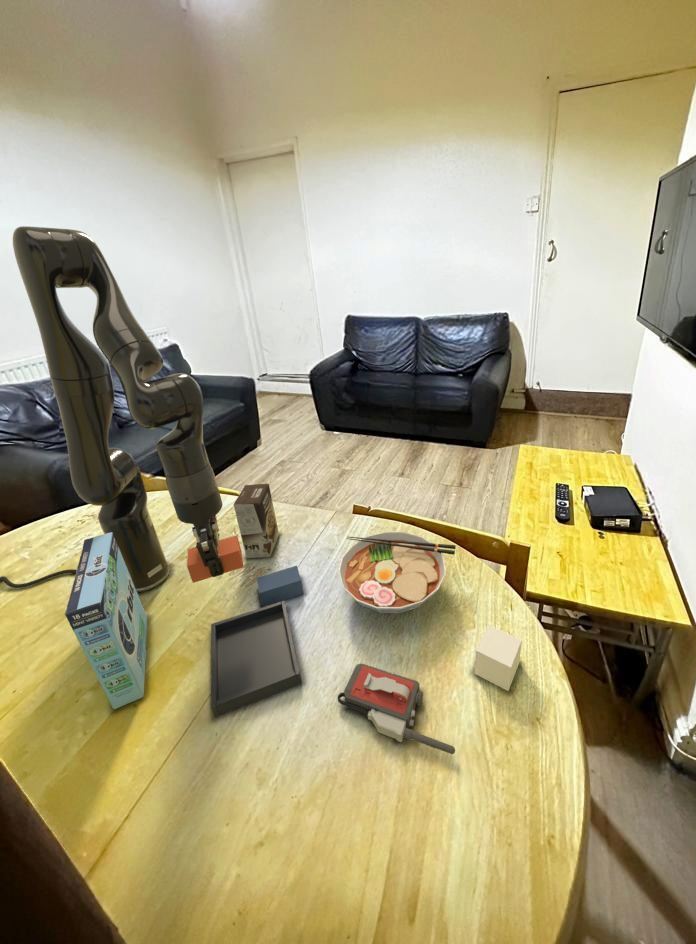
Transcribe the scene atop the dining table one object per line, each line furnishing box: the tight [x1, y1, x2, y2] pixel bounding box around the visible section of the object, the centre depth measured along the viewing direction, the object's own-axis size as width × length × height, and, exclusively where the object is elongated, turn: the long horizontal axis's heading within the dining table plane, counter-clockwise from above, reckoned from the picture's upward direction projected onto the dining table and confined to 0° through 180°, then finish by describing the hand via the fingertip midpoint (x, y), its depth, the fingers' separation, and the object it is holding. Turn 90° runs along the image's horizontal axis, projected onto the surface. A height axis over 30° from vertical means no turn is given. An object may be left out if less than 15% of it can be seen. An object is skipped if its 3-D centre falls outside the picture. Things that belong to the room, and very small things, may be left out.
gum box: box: [64, 532, 148, 711], centre depth 74 cm, size 20×5×23 cm, turn 26°
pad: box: [186, 534, 244, 584], centre depth 78 cm, size 9×5×4 cm, turn 112°
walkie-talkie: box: [337, 662, 456, 755], centre depth 66 cm, size 9×4×20 cm
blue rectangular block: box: [256, 565, 305, 608], centre depth 91 cm, size 9×5×4 cm, turn 111°
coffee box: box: [233, 483, 280, 559], centre depth 103 cm, size 9×6×16 cm
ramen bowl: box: [337, 531, 457, 614], centre depth 89 cm, size 25×23×8 cm
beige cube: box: [474, 624, 523, 692], centre depth 72 cm, size 6×6×6 cm
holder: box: [210, 600, 303, 718], centre depth 77 cm, size 15×18×3 cm
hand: (217, 564), depth 78 cm, fingers closed on pad, 5 cm apart
